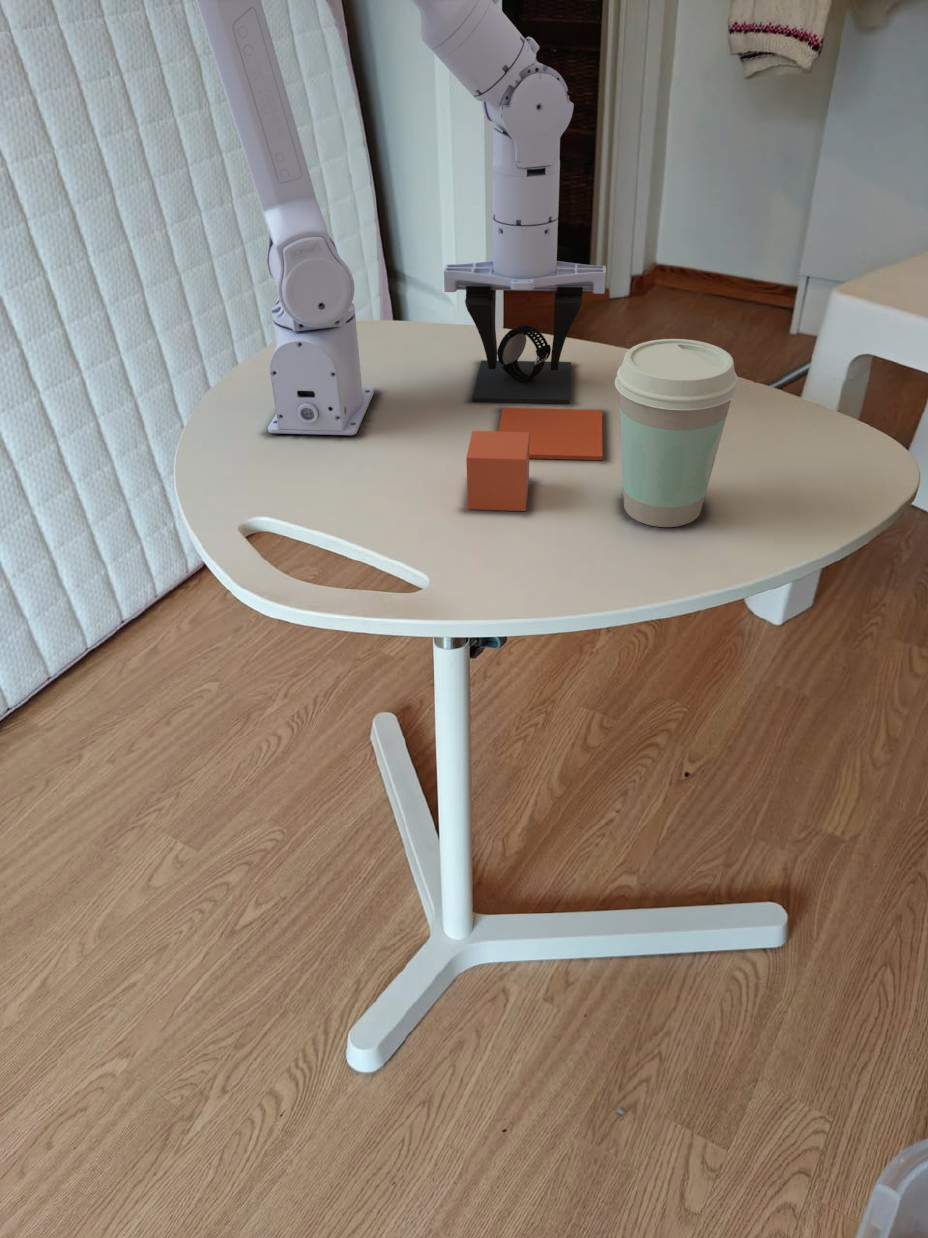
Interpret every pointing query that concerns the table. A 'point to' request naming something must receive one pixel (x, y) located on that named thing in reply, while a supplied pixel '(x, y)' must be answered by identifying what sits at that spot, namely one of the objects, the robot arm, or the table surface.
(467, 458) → the terracotta block
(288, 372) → the robot arm
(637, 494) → the coffee cup
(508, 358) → the smartwatch
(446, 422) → the table surface
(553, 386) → the dark mat
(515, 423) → the terracotta mat
